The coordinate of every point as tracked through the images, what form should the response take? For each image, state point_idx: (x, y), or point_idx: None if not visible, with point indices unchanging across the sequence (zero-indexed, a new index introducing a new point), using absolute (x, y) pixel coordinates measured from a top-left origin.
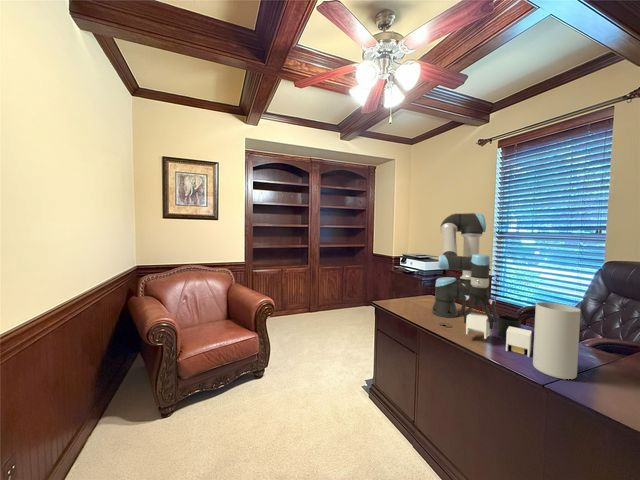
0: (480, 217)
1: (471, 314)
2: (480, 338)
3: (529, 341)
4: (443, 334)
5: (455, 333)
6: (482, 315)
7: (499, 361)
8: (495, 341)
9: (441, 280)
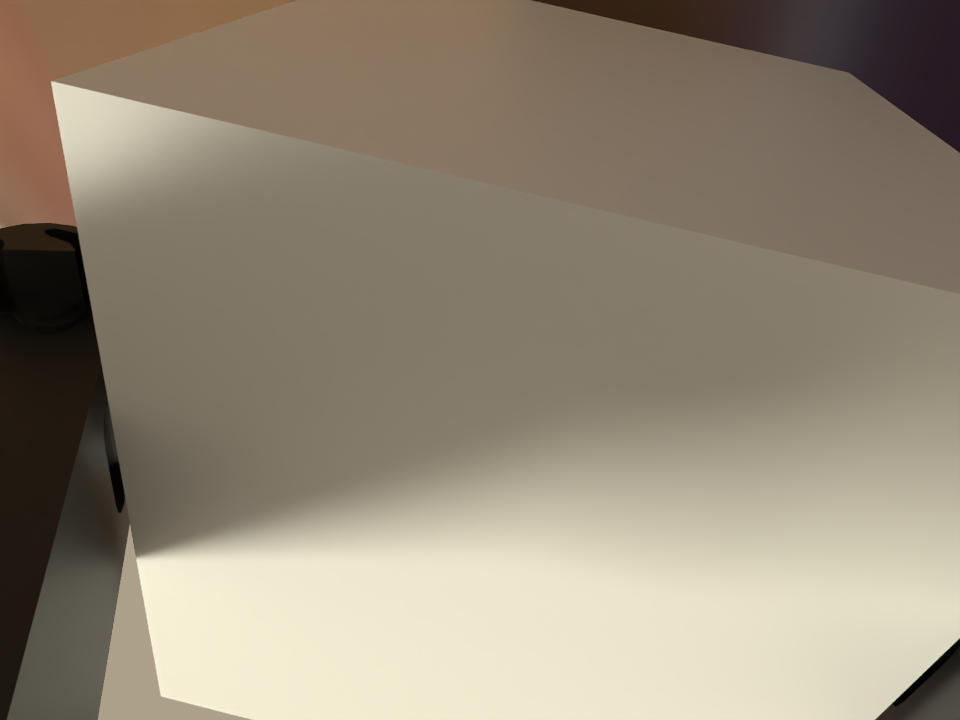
0: None
1: (232, 518)
2: (638, 23)
3: None
4: (44, 207)
5: (160, 14)
6: (722, 470)
7: None
8: (948, 30)
9: None
